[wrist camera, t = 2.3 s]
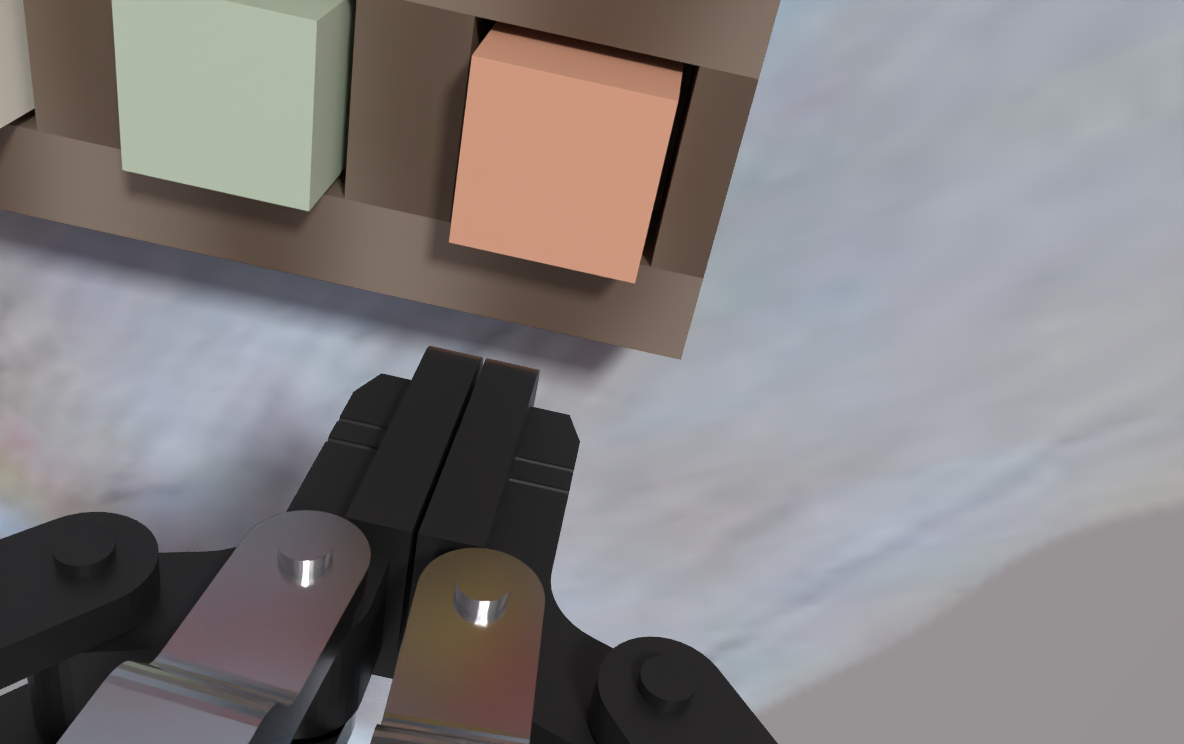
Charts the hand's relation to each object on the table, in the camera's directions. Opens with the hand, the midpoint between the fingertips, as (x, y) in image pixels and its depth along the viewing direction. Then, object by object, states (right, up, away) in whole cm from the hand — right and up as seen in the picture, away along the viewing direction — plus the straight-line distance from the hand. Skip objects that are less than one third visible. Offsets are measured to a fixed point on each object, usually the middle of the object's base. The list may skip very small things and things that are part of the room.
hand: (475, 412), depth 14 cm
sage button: (-6, +8, +9) cm, 13 cm away
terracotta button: (+1, +6, +9) cm, 11 cm away
